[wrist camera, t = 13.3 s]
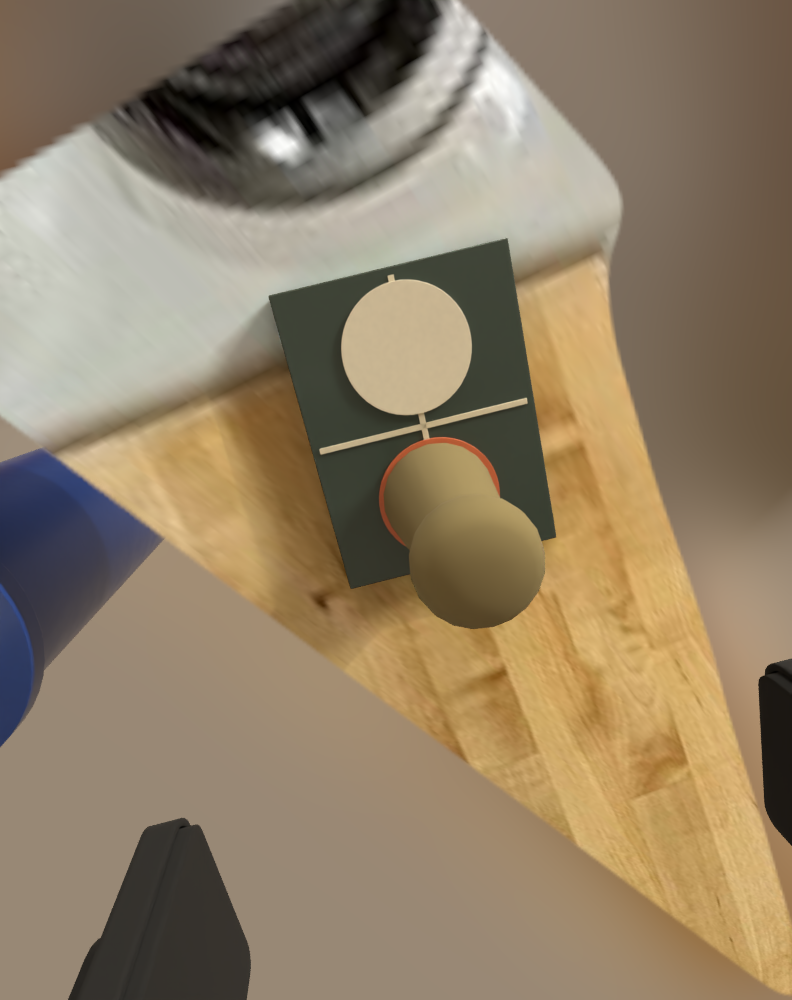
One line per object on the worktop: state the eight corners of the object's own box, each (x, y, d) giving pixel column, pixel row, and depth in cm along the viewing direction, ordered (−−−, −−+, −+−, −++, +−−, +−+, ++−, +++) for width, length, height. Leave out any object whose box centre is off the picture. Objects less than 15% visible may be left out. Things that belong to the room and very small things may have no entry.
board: (350, 580, 33) (350, 590, 32) (271, 297, 29) (267, 295, 28) (549, 530, 34) (558, 538, 32) (501, 241, 29) (508, 237, 28)
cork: (378, 547, 32) (395, 651, 21) (388, 438, 30) (411, 492, 19) (486, 553, 32) (554, 657, 22) (500, 446, 31) (582, 503, 20)
